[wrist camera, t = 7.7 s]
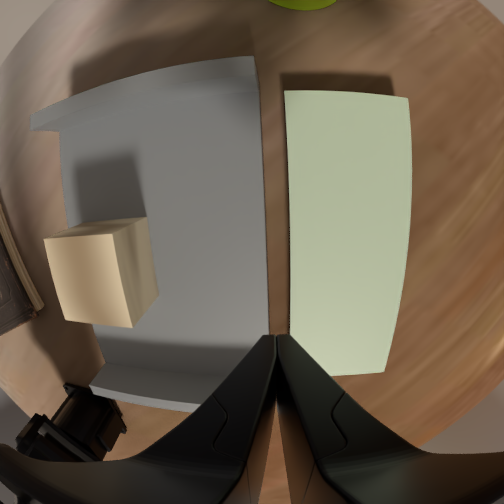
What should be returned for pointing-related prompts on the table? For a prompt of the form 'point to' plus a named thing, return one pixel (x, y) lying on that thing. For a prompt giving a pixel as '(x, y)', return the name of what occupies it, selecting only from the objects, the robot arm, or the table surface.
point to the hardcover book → (14, 284)
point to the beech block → (104, 271)
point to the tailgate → (347, 224)
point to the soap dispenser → (303, 4)
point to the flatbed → (175, 219)
